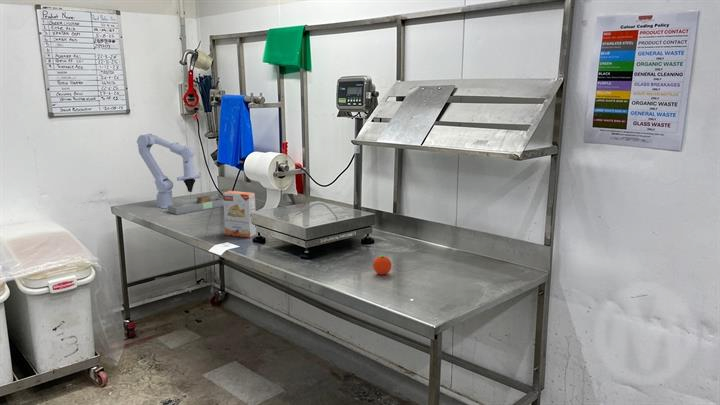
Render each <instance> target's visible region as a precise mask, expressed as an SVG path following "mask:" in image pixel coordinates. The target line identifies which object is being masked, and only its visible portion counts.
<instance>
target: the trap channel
mask: <svg viewBox="0 0 720 405" xmlns="http://www.w3.org/2000/svg"><path fill="white" fill-rule="evenodd" d="M220 208H224V200H223V198H220V197H211V202H205V203H199V204H197V200H194V201H187V202H181V203H177V204H175V203H173V205H168V208H167V211H166V213H170V214H173V215H176V216H181V215H186V214H192V213H193V214H194V213H196V212H197V213H198V212H203V211H209V210H214V209H220Z"/></svg>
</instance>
